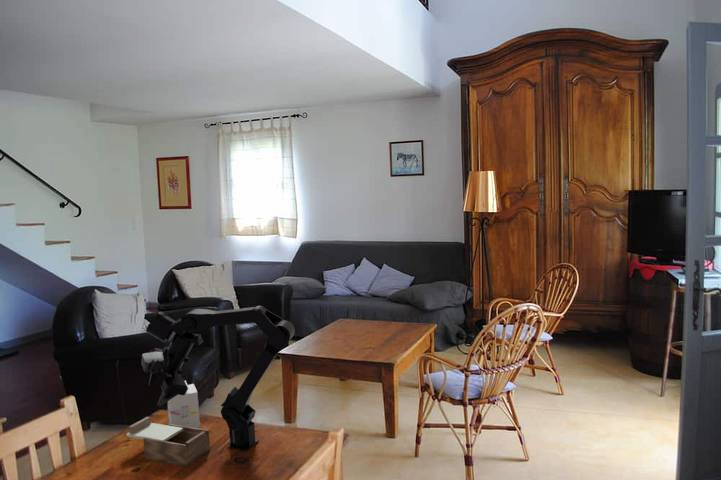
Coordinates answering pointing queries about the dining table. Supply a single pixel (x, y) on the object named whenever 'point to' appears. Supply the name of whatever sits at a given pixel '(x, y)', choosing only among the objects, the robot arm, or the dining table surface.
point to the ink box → (185, 408)
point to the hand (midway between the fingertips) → (154, 395)
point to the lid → (152, 430)
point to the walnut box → (179, 447)
